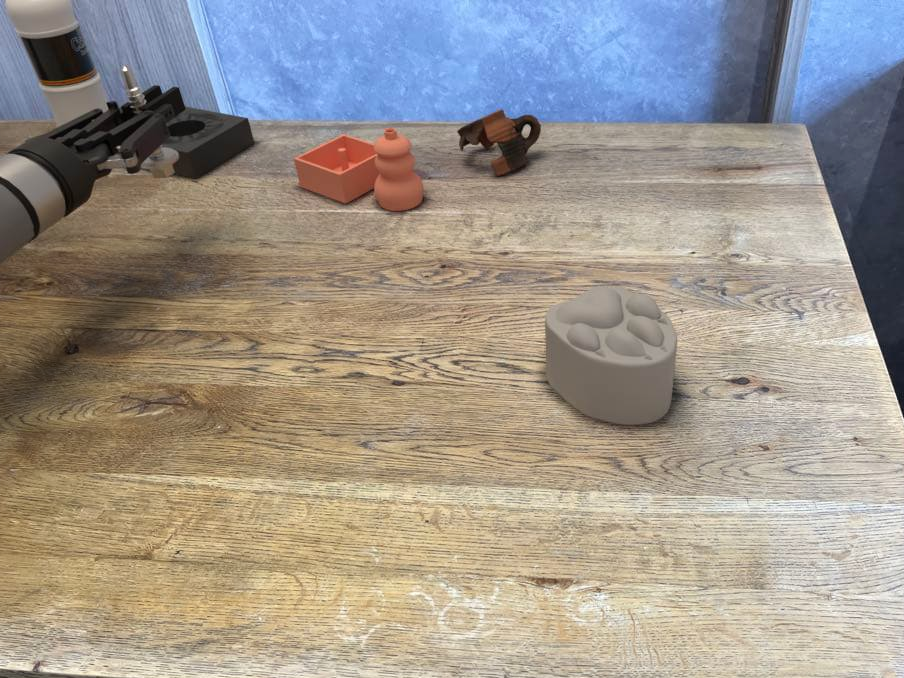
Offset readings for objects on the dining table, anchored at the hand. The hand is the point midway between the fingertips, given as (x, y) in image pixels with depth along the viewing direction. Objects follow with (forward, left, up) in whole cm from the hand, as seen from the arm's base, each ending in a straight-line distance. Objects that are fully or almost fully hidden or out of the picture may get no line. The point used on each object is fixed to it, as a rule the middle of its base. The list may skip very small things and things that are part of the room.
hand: (169, 97), depth 99 cm
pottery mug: (+29, +29, -16) cm, 44 cm away
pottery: (+16, +14, -16) cm, 27 cm away
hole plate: (-16, +14, -16) cm, 27 cm away
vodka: (-33, +11, -16) cm, 38 cm away
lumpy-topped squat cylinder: (+62, -12, -16) cm, 65 cm away
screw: (+1, -5, -7) cm, 9 cm away
